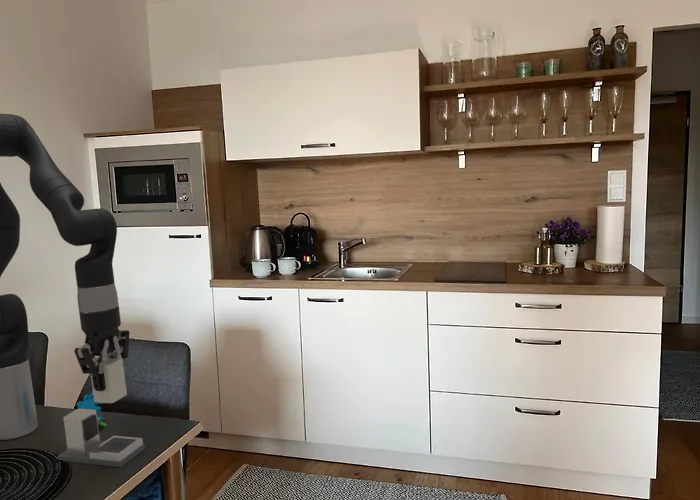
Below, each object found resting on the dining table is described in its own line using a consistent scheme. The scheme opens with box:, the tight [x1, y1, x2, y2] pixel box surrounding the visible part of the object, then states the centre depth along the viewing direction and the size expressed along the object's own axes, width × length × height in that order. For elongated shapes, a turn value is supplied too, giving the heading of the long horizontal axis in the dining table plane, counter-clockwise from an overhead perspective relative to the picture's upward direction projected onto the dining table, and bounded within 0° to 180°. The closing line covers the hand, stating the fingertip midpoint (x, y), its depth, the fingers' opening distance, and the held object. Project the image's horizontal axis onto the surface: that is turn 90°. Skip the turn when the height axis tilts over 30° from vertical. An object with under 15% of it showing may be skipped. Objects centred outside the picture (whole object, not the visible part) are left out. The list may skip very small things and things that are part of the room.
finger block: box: [90, 357, 128, 404], centre depth 117 cm, size 4×5×8 cm
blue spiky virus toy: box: [71, 390, 108, 428], centre depth 136 cm, size 11×6×10 cm
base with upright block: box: [56, 408, 146, 468], centre depth 119 cm, size 16×8×9 cm, turn 74°
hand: (109, 385), depth 117 cm, fingers closed on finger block, 4 cm apart
